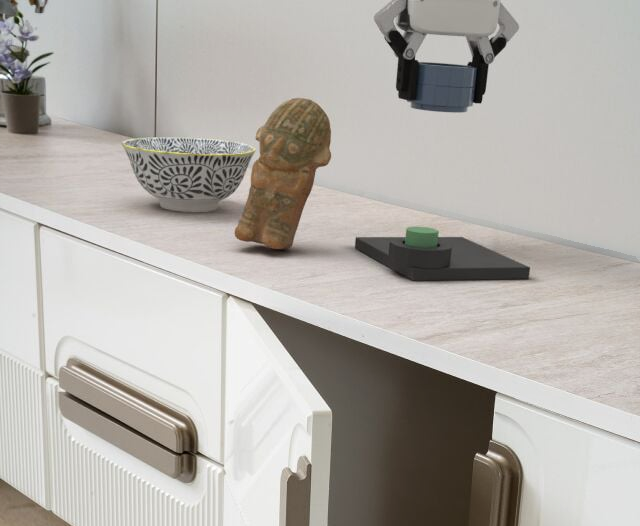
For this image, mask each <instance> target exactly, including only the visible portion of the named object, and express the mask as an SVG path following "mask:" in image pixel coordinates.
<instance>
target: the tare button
mask: <svg viewBox="0 0 640 526" xmlns="http://www.w3.org/2000/svg"><path fill="white" fill-rule="evenodd" d="M439 232H440V231H439V230H438V229H436V228H433V227H429V226H408V227H406V229H405V236H404V237H405V245H410V246H414V247H423V248H435V247H437V243H438V237H439Z"/></svg>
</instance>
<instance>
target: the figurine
mask: <svg viewBox="0 0 640 526" xmlns="http://www.w3.org/2000/svg"><path fill="white" fill-rule="evenodd" d="M331 138H332V129H331V123H330V118H329V116H328V115H327V113H326V112H325V110H324V109H323V108H322V107H321V106H320V105H319V104H318V103H317V102H315V101H313V100H312V99H309V98H304V97H295V98H291V99H287V100H285V101H283V102H282V103H281V104H279V105H278V106H277V107H276V108H275V109H274V110H273V111H272V112H271V113H270V115H269V116H268V117H267V120H266V121H265V123H264V124H263V125H261V126H260V127H259V128H258V129H257V131H256V135H255V140H256V141H257V142H259V157H258V159H256V160H255V161H254V162H253V164H252V166H251V174H250V186H249V187H250V188H249V191H248V194H247V195H248V196H247V199H246V202H245V205H244V207H243V211H242V213H241V215H240V218H239V220H238V223H237V225H236V226H235V229H234V237H235V238H236V239H237V240H239V241H241V242H246V243H249V242H251V243H257V244H261V245H264V246H266V247H267V248H269V249H273V250H282V251H287V250H290V249H291V248H292V247H293V245H294V240H295V237H296V233H297V230H298V228H299V224H300V221H301V218H302V214H303V211H304V210H305V209H304V208H305V205H306V202H307V201H308V198H309V196H310V194H311V192H312V190H313V186H314V183H315V177H316V172H317V170H318V169H319V168H322V167H326V166H328V165H329V163H330V161H331V159H332V152H331V148H330V146H331V141H332V139H331Z"/></svg>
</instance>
